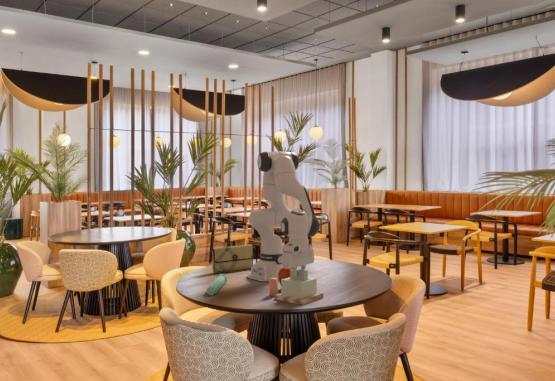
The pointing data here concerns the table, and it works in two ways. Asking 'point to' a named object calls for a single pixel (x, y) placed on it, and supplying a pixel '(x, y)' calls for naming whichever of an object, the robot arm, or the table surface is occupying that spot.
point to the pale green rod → (217, 284)
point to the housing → (299, 285)
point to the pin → (273, 286)
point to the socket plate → (298, 300)
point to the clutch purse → (233, 258)
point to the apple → (283, 274)
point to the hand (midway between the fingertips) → (298, 275)
